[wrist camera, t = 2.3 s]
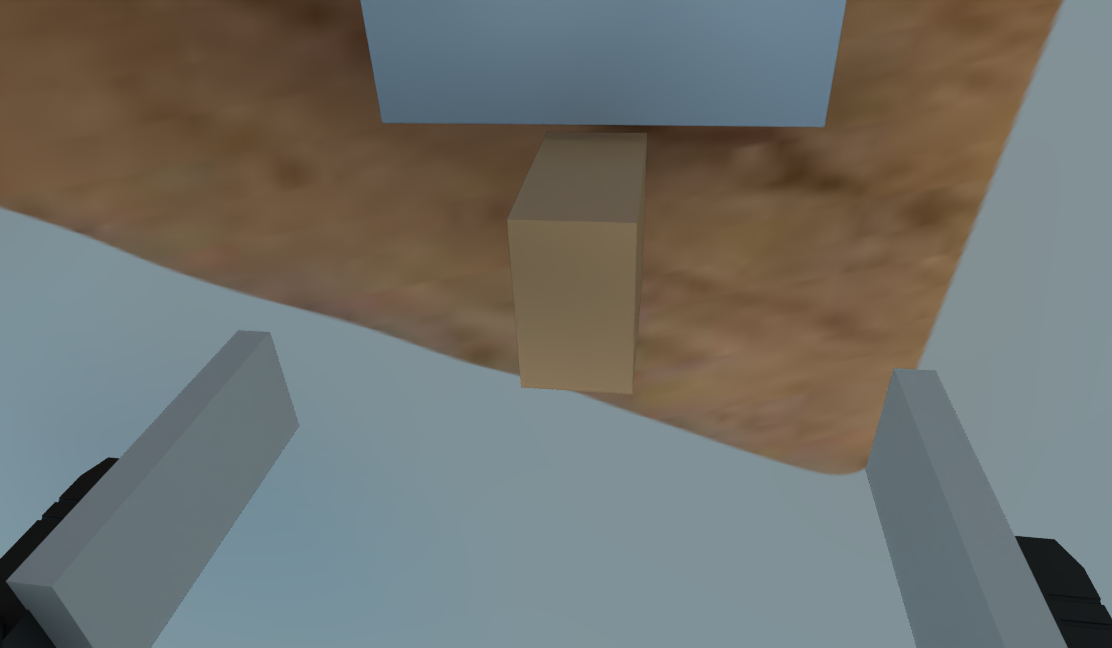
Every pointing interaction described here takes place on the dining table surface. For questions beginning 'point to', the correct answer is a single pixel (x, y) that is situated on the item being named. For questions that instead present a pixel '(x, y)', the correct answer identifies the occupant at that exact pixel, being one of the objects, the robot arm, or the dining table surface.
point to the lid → (595, 157)
